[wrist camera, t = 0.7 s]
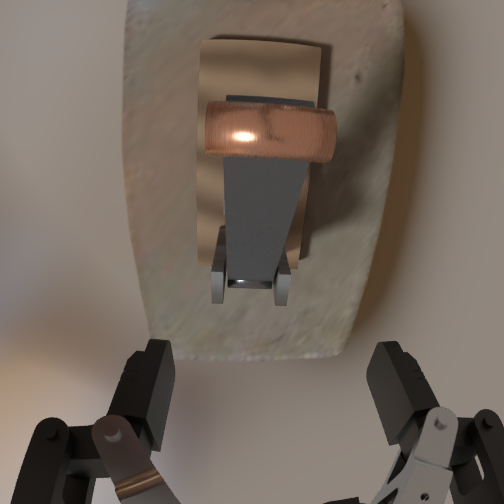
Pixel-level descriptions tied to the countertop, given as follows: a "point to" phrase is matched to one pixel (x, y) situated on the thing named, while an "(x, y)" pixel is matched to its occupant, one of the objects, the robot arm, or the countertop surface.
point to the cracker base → (211, 167)
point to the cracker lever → (264, 174)
